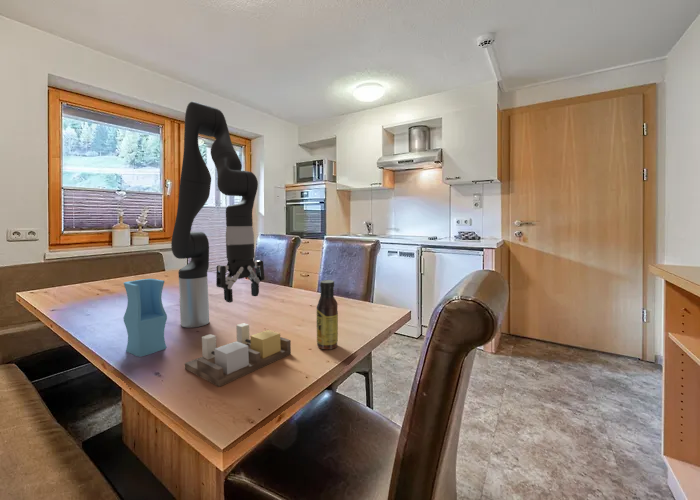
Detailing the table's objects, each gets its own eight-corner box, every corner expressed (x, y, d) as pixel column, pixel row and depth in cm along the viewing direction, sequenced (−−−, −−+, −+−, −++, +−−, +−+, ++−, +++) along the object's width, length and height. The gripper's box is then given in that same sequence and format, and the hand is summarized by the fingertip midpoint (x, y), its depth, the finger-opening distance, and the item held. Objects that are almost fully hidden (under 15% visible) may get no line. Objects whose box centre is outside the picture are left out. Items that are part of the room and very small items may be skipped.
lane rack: (185, 368, 81) (184, 353, 81) (256, 342, 99) (256, 329, 99) (218, 386, 72) (218, 369, 72) (290, 353, 90) (290, 340, 90)
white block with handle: (196, 359, 83) (195, 338, 83) (217, 351, 88) (216, 332, 87) (227, 374, 75) (226, 351, 75) (248, 365, 80) (248, 343, 79)
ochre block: (231, 346, 92) (230, 326, 91) (249, 339, 96) (248, 321, 96) (263, 358, 84) (262, 337, 83) (280, 350, 88) (280, 330, 88)
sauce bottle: (316, 342, 98) (316, 278, 96) (337, 342, 99) (337, 278, 97) (316, 351, 92) (315, 283, 90) (338, 350, 92) (338, 282, 90)
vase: (139, 357, 88) (134, 285, 86) (125, 351, 92) (121, 282, 90) (168, 347, 94) (164, 280, 93) (154, 342, 99) (150, 278, 97)
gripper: (252, 240, 98) (254, 292, 100) (209, 243, 87) (211, 302, 88) (269, 241, 94) (270, 295, 96) (225, 244, 83) (227, 306, 84)
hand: (242, 298), depth 92 cm, fingers open, 8 cm apart
